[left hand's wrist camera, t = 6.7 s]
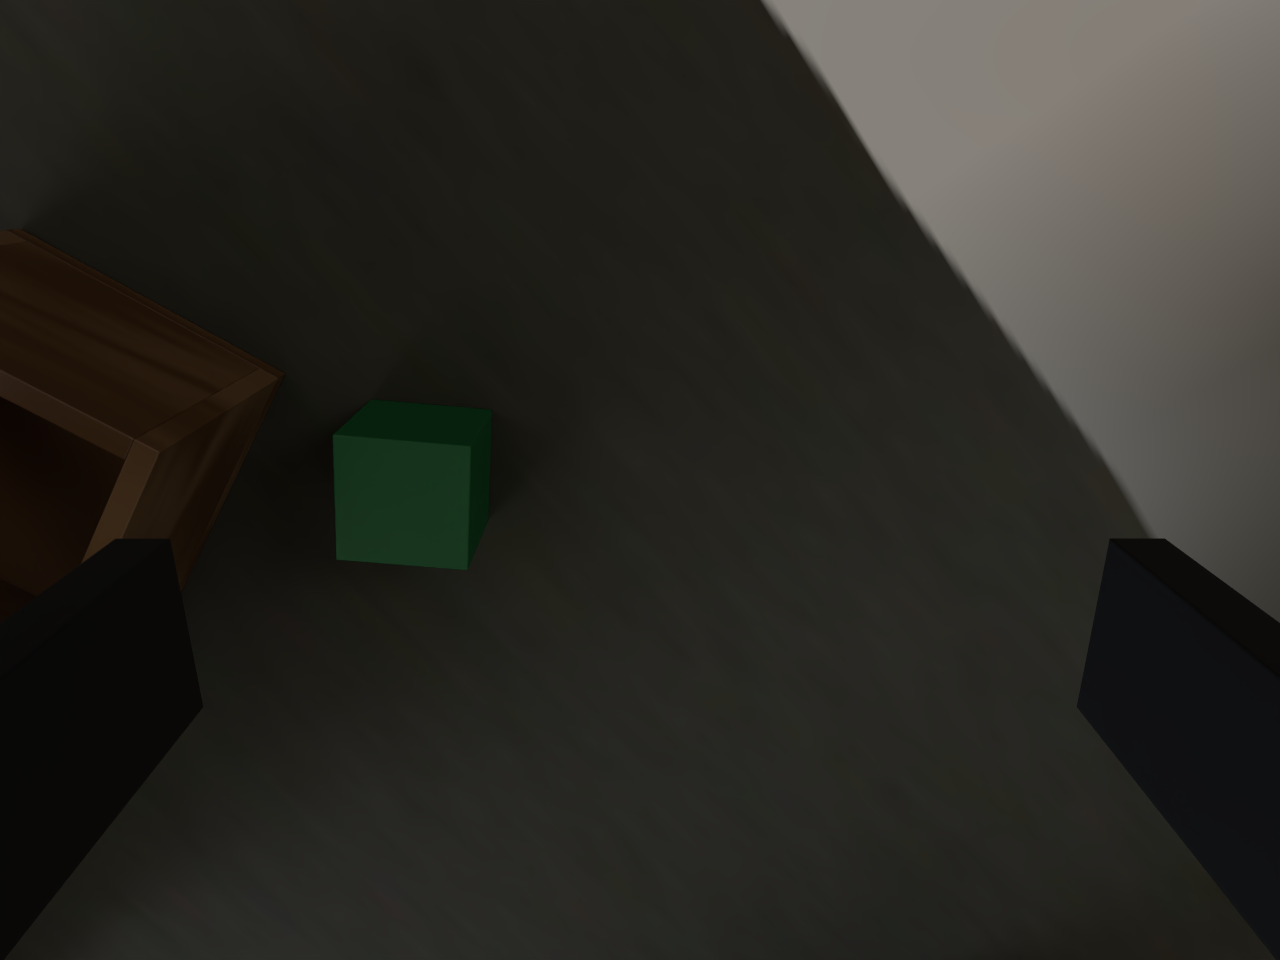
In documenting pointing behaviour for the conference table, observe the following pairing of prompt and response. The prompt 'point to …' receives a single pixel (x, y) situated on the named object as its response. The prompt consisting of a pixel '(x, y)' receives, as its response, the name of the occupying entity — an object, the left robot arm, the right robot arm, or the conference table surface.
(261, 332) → the conference table surface
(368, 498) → the block
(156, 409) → the chest
